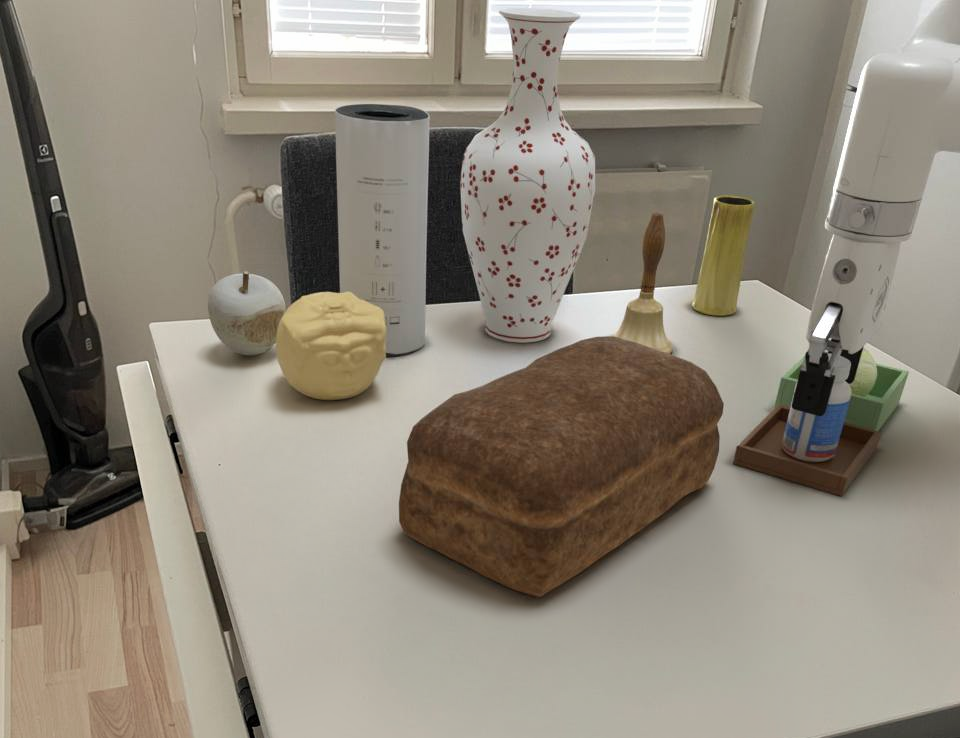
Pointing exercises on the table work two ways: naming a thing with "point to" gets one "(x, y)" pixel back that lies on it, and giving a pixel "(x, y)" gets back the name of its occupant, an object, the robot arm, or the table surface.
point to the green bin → (860, 409)
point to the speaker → (384, 214)
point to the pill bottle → (819, 422)
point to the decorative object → (246, 312)
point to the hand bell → (648, 295)
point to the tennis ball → (864, 375)
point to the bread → (559, 460)
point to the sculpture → (331, 345)
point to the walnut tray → (830, 476)
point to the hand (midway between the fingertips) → (822, 395)
